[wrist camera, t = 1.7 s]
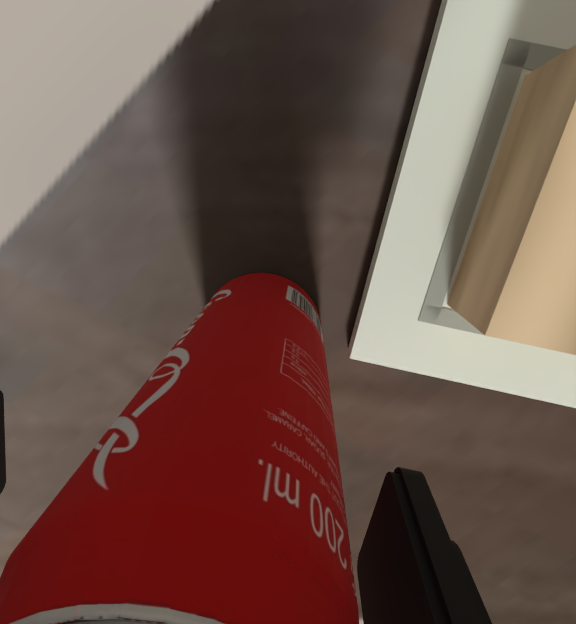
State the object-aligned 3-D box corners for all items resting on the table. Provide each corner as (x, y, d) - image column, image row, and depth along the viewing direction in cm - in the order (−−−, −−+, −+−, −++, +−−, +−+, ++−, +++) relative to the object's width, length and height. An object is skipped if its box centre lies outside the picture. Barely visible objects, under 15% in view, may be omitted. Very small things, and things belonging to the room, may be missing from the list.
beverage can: (238, 248, 18) (-105, 446, 3) (356, 313, 18) (490, 730, 4) (189, 348, 19) (-176, 759, 5) (298, 405, 20) (240, 932, 6)
